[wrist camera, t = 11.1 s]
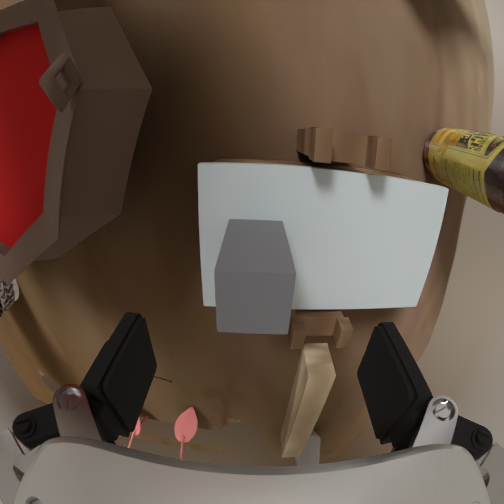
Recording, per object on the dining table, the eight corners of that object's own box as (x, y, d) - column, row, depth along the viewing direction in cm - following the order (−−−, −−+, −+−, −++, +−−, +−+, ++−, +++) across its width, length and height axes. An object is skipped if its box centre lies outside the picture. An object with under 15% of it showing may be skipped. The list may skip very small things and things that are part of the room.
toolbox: (219, 282, 29) (206, 346, 20) (219, 126, 22) (196, 122, 14) (377, 286, 29) (412, 341, 20) (404, 145, 22) (465, 159, 14)
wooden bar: (280, 433, 29) (281, 457, 26) (302, 343, 22) (308, 377, 19) (297, 432, 29) (299, 456, 26) (327, 342, 22) (335, 375, 19)
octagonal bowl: (180, -5, 16) (105, -96, 1) (193, 224, 26) (118, 341, 11) (14, 69, 17) (-79, 74, 2) (31, 237, 27) (-52, 301, 12)
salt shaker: (284, 432, 44) (288, 489, 32) (311, 423, 42) (318, 483, 30) (298, 440, 46) (303, 493, 34) (323, 432, 44) (331, 486, 32)
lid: (207, 292, 23) (185, 373, 15) (203, 160, 18) (161, 185, 10) (407, 294, 23) (451, 359, 15) (435, 183, 18) (510, 219, 10)
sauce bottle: (457, 127, 21) (606, 167, 3) (460, 180, 23) (595, 255, 5) (414, 126, 21) (587, 164, 3) (418, 185, 24) (569, 277, 6)
